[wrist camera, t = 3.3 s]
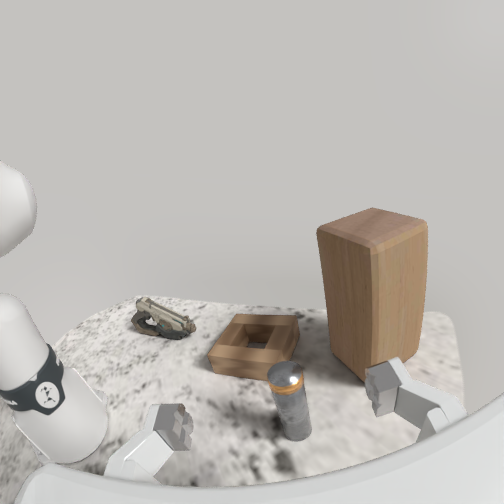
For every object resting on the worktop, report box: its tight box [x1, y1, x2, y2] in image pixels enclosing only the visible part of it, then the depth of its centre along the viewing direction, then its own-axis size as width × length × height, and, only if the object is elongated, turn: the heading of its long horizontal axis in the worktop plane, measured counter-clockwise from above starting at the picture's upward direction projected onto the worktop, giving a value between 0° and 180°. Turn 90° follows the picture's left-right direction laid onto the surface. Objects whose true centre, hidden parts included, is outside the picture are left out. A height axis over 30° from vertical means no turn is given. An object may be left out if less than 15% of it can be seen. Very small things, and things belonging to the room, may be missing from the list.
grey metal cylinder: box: [267, 361, 312, 441], centre depth 26 cm, size 3×3×11 cm
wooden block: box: [316, 208, 428, 383], centre depth 33 cm, size 10×10×20 cm
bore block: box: [207, 314, 300, 381], centre depth 42 cm, size 11×11×4 cm
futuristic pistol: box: [131, 297, 196, 340], centre depth 53 cm, size 2×15×10 cm, turn 71°
